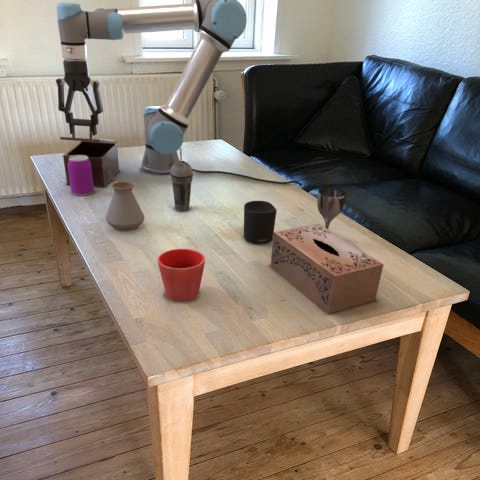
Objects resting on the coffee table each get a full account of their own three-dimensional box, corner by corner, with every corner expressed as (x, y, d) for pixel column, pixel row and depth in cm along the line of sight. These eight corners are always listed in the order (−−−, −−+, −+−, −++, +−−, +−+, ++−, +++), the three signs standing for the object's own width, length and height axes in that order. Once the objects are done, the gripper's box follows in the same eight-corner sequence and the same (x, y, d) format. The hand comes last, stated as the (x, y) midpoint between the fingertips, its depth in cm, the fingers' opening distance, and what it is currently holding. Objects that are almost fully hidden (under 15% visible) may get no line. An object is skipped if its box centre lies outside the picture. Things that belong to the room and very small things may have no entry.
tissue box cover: (375, 300, 126) (383, 264, 120) (328, 313, 120) (334, 276, 114) (314, 256, 144) (318, 223, 139) (270, 266, 138) (273, 232, 133)
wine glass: (340, 237, 156) (348, 190, 147) (335, 248, 149) (343, 199, 141) (314, 233, 158) (321, 185, 149) (309, 243, 151) (315, 194, 143)
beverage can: (87, 187, 182) (83, 152, 175) (98, 193, 177) (94, 158, 170) (67, 191, 177) (62, 156, 170) (78, 198, 172) (73, 162, 166)
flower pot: (160, 283, 128) (158, 247, 122) (204, 283, 129) (204, 248, 124) (158, 305, 119) (156, 268, 114) (205, 305, 120) (205, 268, 115)
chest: (104, 187, 182) (101, 158, 176) (67, 184, 183) (62, 155, 177) (119, 170, 198) (117, 143, 192) (84, 168, 199) (81, 140, 193)
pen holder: (237, 241, 150) (239, 209, 145) (249, 229, 157) (251, 198, 152) (267, 247, 147) (270, 215, 142) (278, 235, 155) (281, 204, 149)
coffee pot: (150, 230, 154) (148, 181, 145) (113, 237, 149) (108, 186, 140) (126, 206, 169) (122, 160, 160) (91, 211, 164) (86, 164, 155)
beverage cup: (195, 205, 172) (195, 144, 161) (191, 213, 166) (190, 151, 155) (173, 203, 172) (172, 143, 161) (169, 211, 166) (167, 149, 155)
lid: (99, 142, 173) (99, 119, 171) (60, 139, 173) (59, 117, 171) (116, 143, 192) (116, 123, 190) (81, 140, 193) (80, 120, 190)
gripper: (39, 59, 161) (51, 134, 173) (102, 63, 160) (109, 138, 173) (48, 56, 167) (59, 129, 180) (109, 60, 166) (115, 133, 179)
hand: (83, 133), depth 176 cm, fingers closed on lid, 7 cm apart
